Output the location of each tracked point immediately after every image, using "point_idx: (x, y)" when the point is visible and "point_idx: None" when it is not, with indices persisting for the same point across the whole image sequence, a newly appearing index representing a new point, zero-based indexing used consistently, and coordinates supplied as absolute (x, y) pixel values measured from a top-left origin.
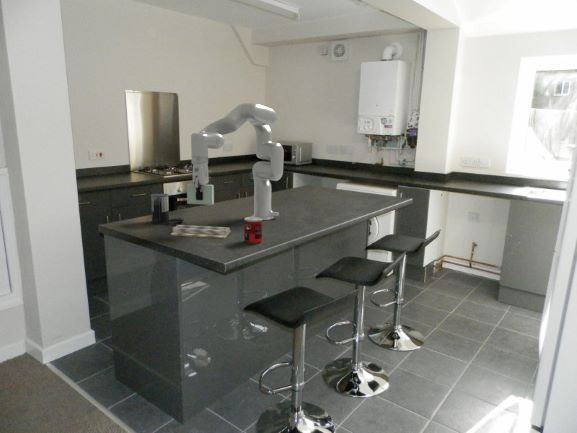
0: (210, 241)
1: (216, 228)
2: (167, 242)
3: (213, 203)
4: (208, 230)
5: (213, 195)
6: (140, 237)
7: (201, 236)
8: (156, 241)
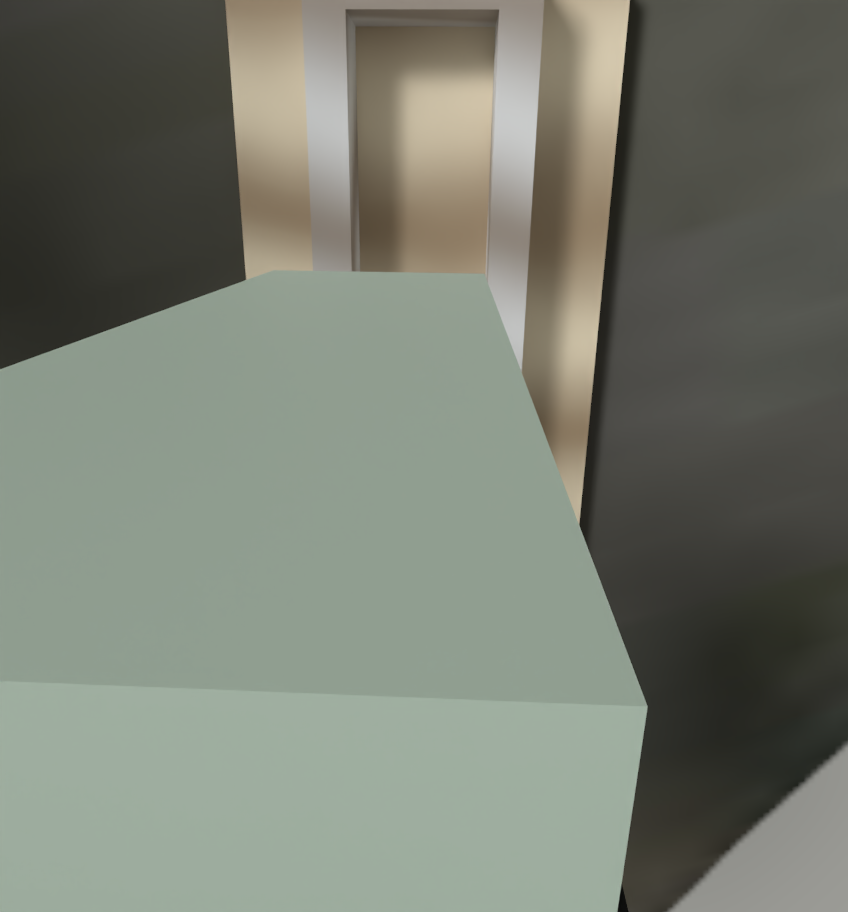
0: (794, 167)
1: (350, 202)
2: (838, 645)
3: (324, 271)
4: (526, 283)
5: (229, 311)
6: (662, 902)
7: (591, 352)
8: (799, 748)
